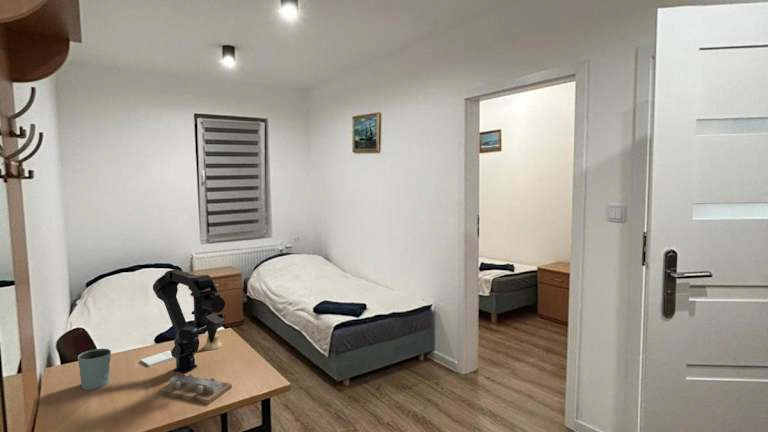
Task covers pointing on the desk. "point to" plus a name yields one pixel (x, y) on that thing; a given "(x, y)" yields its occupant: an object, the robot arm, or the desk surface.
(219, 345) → the hand bell
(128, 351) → the desk surface
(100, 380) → the grey-blue cup
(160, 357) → the external hard drive
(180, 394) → the peg board
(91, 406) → the desk surface
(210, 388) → the grey i-beam piece
